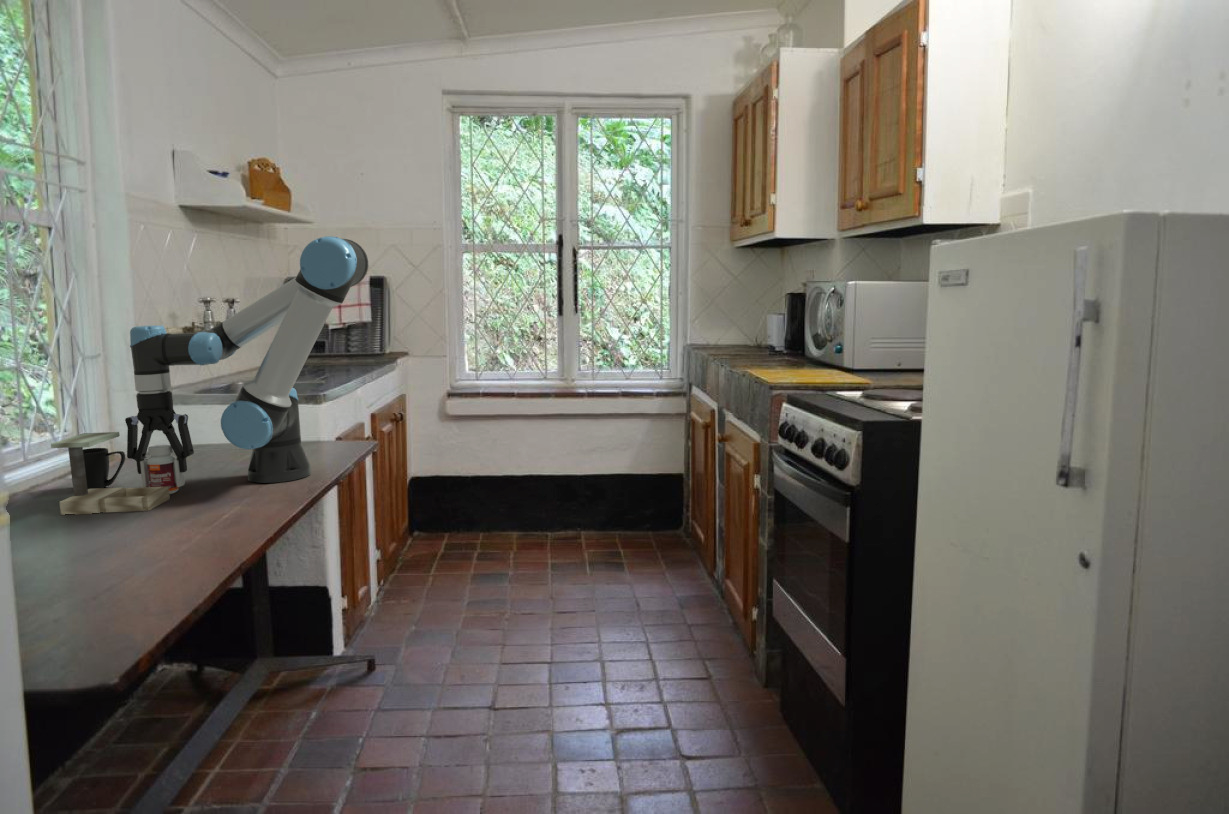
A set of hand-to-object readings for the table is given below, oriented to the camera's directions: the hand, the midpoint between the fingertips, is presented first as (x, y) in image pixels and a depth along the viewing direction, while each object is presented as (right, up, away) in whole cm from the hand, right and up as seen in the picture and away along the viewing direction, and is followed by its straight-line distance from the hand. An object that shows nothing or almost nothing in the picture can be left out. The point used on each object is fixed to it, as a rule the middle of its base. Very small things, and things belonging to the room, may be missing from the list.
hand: (164, 486), depth 212 cm
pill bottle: (0, -2, 0) cm, 2 cm away
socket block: (-4, -3, -12) cm, 13 cm away
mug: (-19, -1, +7) cm, 21 cm away
